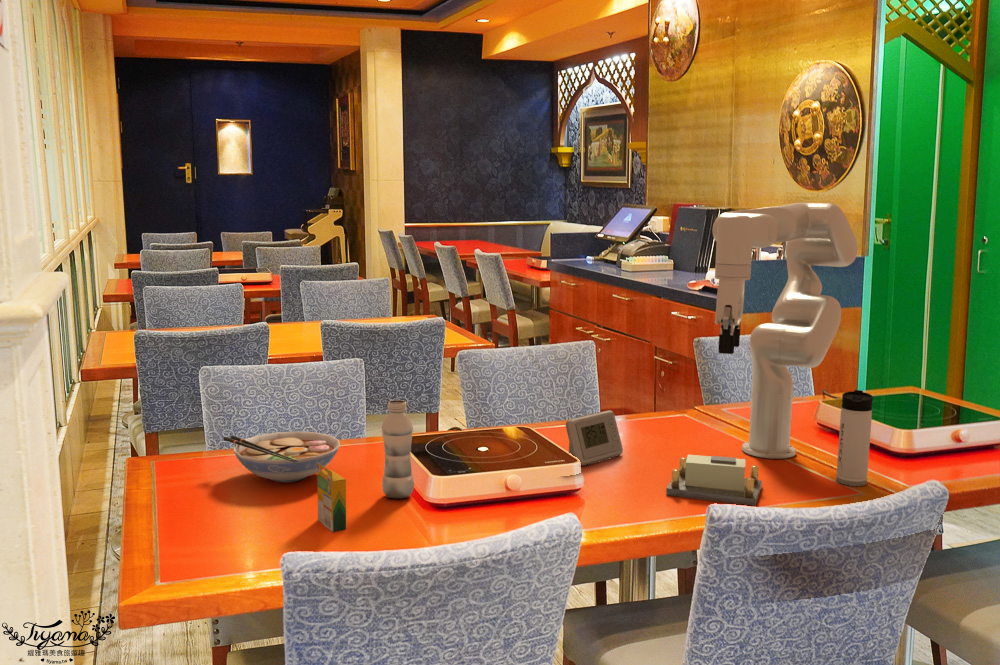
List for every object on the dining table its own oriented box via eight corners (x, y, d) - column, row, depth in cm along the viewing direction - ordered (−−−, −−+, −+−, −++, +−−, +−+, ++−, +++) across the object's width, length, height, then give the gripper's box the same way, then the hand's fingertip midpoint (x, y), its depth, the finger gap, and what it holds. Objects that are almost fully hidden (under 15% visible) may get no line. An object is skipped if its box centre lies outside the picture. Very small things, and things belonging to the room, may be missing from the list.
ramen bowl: (365, 478, 199) (364, 442, 198) (275, 503, 183) (274, 464, 181) (298, 455, 216) (297, 421, 215) (210, 476, 200) (209, 440, 198)
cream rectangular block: (686, 476, 197) (687, 451, 196) (744, 482, 194) (745, 456, 193) (684, 485, 192) (686, 459, 191) (743, 490, 188) (745, 464, 188)
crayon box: (347, 529, 169) (346, 469, 168) (332, 532, 168) (331, 472, 166) (332, 517, 175) (330, 459, 174) (317, 520, 174) (316, 461, 172)
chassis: (677, 477, 202) (678, 455, 201) (761, 487, 196) (762, 464, 195) (666, 495, 190) (667, 471, 189) (755, 506, 184) (756, 482, 183)
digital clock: (576, 469, 207) (577, 423, 206) (554, 459, 215) (554, 415, 213) (632, 459, 216) (633, 415, 214) (608, 449, 223) (609, 407, 222)
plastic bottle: (389, 504, 183) (388, 407, 180) (377, 494, 189) (376, 400, 186) (418, 499, 186) (418, 403, 183) (406, 489, 192) (406, 396, 189)
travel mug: (867, 479, 202) (874, 391, 199) (865, 488, 196) (872, 397, 193) (837, 475, 204) (843, 388, 201) (834, 484, 198) (841, 394, 195)
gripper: (720, 268, 207) (717, 342, 210) (709, 274, 191) (705, 355, 194) (754, 269, 205) (750, 345, 207) (746, 276, 189) (741, 357, 191)
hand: (728, 349), depth 201 cm, fingers open, 9 cm apart
